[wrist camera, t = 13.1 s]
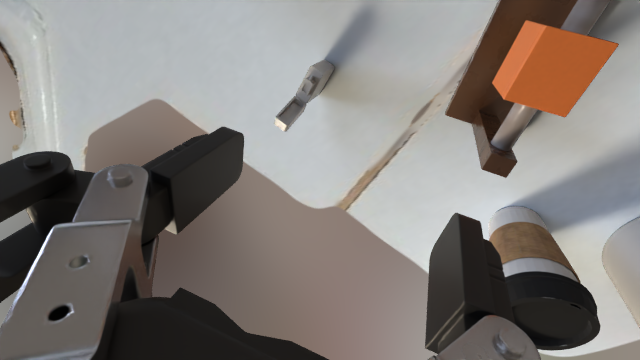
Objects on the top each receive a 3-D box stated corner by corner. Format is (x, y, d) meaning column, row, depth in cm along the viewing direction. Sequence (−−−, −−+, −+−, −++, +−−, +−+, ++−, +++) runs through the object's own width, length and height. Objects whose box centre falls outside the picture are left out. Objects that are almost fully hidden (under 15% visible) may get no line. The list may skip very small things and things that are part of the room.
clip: (491, 82, 26) (503, 99, 22) (525, 19, 23) (546, 25, 19) (543, 97, 25) (565, 117, 21) (585, 34, 22) (619, 43, 18)
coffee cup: (571, 215, 35) (636, 326, 23) (526, 259, 40) (559, 370, 28) (501, 187, 37) (528, 279, 25) (465, 233, 42) (473, 328, 29)
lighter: (323, 58, 36) (297, 71, 30) (335, 67, 36) (311, 81, 30) (298, 105, 41) (271, 125, 34) (309, 112, 41) (283, 134, 34)
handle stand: (445, 112, 35) (444, 156, 25) (527, -61, 25) (579, -99, 16) (515, 134, 33) (545, 191, 23) (630, -40, 24) (757, -66, 14)
